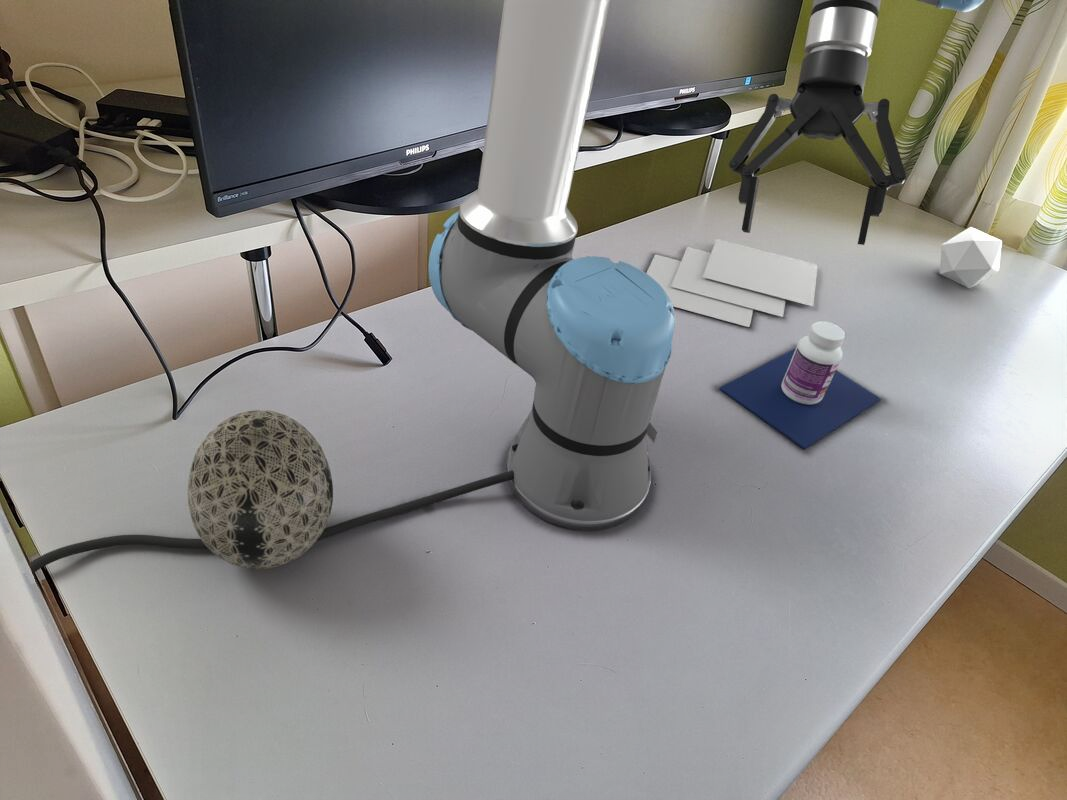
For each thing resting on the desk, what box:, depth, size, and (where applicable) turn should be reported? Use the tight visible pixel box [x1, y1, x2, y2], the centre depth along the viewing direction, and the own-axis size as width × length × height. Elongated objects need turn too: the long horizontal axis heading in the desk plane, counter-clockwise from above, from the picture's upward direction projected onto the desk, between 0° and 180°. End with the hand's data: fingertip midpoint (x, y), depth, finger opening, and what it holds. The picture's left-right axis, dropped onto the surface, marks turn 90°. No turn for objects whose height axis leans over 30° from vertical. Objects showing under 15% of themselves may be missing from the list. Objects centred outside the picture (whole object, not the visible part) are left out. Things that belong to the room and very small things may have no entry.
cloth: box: [718, 347, 882, 450], centre depth 97 cm, size 17×13×1 cm
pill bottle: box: [781, 320, 846, 405], centre depth 94 cm, size 5×5×10 cm
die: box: [939, 226, 1003, 289], centre depth 124 cm, size 8×9×10 cm
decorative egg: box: [187, 409, 334, 570], centre depth 65 cm, size 12×12×15 cm
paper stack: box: [645, 238, 819, 328], centre depth 117 cm, size 23×25×1 cm
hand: (801, 237), depth 93 cm, fingers open, 13 cm apart
